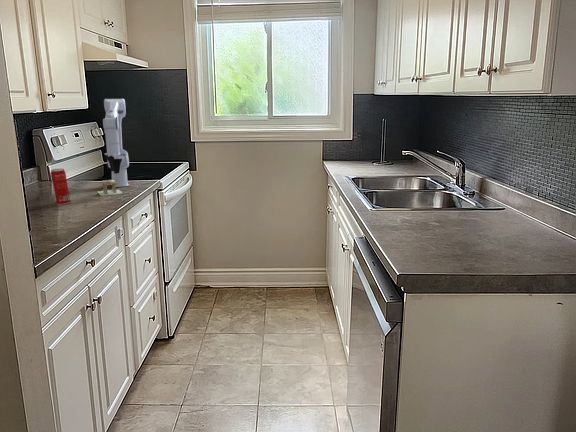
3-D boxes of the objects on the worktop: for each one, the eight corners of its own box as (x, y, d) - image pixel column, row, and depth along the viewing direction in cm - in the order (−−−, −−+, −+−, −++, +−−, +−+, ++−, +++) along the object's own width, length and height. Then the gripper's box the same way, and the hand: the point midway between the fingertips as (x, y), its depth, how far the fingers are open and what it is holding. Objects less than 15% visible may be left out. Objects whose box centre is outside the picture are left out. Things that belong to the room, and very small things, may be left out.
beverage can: (72, 202, 217) (69, 168, 213) (64, 205, 211) (60, 170, 207) (59, 201, 218) (55, 167, 214) (51, 205, 211) (47, 170, 208)
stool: (114, 190, 239) (113, 179, 237) (116, 192, 235) (115, 181, 233) (103, 191, 236) (102, 180, 235) (105, 193, 232) (104, 182, 231)
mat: (97, 192, 237) (97, 191, 237) (118, 190, 242) (118, 189, 242) (100, 196, 229) (100, 195, 229) (123, 193, 234) (122, 193, 234)
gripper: (101, 142, 236) (104, 170, 240) (106, 145, 224) (108, 175, 227) (116, 141, 240) (119, 169, 243) (122, 144, 227) (124, 173, 231)
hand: (115, 172), depth 235 cm, fingers open, 7 cm apart
